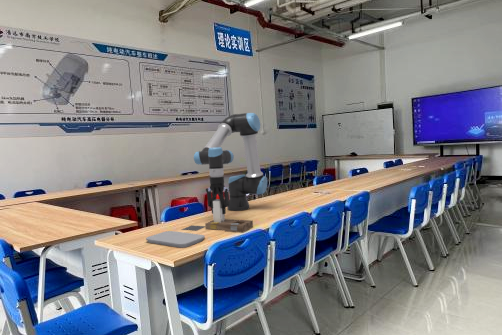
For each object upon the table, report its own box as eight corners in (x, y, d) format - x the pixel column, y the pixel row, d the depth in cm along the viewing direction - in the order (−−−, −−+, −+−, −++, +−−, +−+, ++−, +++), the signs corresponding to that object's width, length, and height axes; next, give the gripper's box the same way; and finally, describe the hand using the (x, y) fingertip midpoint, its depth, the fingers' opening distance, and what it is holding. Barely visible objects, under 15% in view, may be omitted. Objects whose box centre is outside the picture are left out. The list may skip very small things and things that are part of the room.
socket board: (217, 224, 196) (216, 218, 196) (252, 227, 187) (252, 220, 187) (205, 230, 185) (205, 223, 185) (242, 232, 176) (242, 225, 176)
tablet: (168, 234, 181) (168, 230, 181) (207, 240, 167) (207, 235, 167) (143, 243, 167) (143, 238, 167) (183, 249, 153) (183, 244, 153)
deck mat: (191, 226, 196) (191, 225, 196) (206, 227, 192) (206, 226, 192) (180, 230, 187) (180, 229, 187) (196, 231, 183) (196, 230, 183)
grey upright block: (214, 223, 188) (212, 200, 187) (217, 221, 191) (216, 198, 190) (220, 223, 186) (219, 200, 185) (224, 222, 189) (223, 198, 189)
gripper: (199, 177, 187) (201, 220, 189) (227, 177, 180) (229, 222, 181) (206, 175, 194) (209, 217, 195) (234, 175, 187) (236, 219, 188)
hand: (219, 219), depth 188 cm, fingers closed on grey upright block, 4 cm apart
